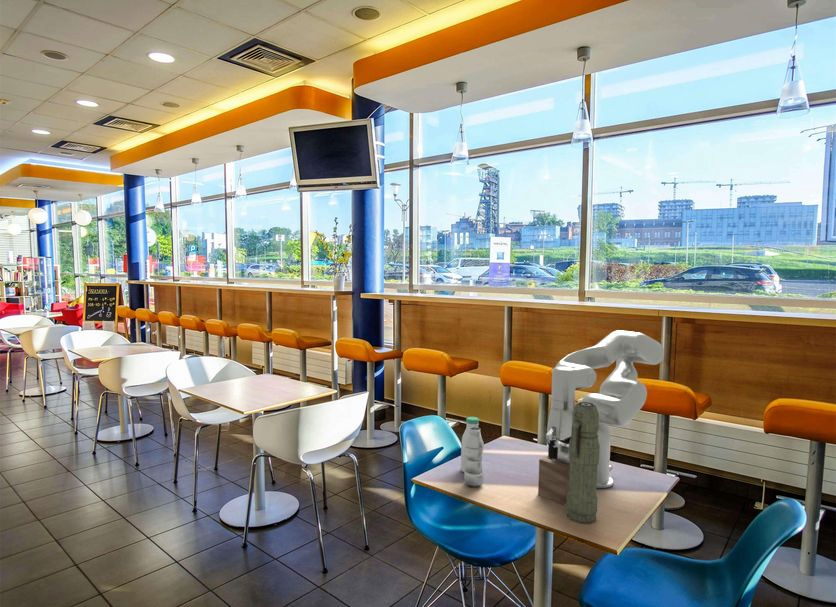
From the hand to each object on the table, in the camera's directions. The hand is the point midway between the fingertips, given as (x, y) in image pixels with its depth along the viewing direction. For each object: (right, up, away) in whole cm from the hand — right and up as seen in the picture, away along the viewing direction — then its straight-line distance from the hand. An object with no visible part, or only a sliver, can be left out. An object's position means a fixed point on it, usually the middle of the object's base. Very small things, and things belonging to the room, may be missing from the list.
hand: (560, 454), depth 170 cm
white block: (0, -6, 0) cm, 6 cm away
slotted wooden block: (0, -14, +1) cm, 14 cm away
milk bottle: (-28, -12, +20) cm, 37 cm away
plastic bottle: (-28, -13, +7) cm, 32 cm away
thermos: (+2, -15, -14) cm, 21 cm away
